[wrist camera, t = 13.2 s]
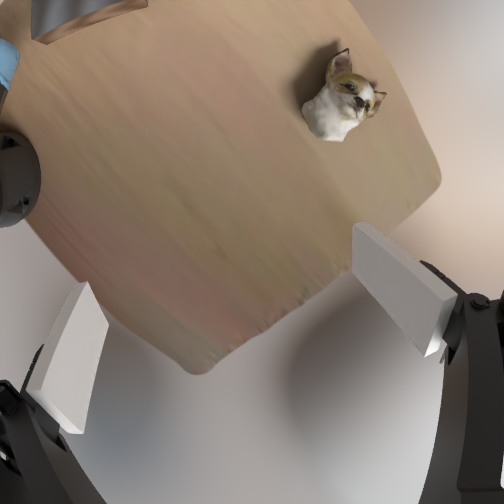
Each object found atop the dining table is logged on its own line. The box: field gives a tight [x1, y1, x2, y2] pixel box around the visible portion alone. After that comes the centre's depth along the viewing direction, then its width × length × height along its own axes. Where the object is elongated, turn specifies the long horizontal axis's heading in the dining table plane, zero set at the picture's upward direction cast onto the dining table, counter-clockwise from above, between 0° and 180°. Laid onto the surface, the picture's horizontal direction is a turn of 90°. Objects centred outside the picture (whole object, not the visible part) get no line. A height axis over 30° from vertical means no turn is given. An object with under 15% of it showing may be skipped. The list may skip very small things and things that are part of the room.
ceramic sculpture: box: [302, 48, 387, 142], centre depth 34 cm, size 11×9×15 cm
